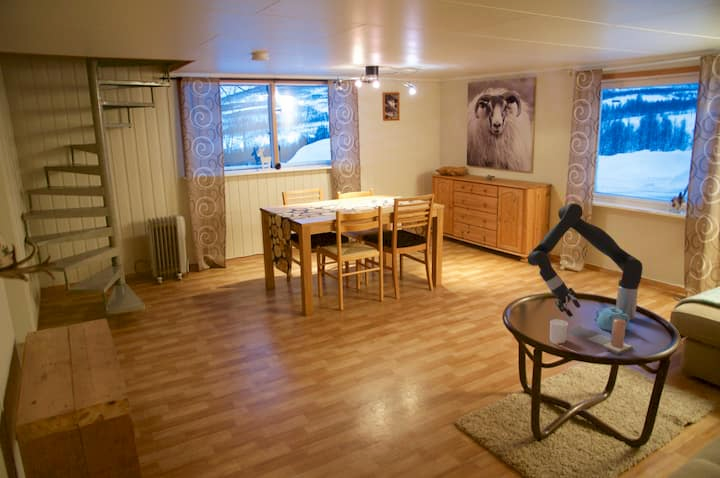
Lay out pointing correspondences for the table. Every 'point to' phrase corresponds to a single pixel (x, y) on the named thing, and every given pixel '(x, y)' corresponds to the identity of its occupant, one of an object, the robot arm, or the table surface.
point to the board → (598, 340)
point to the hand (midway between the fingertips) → (575, 311)
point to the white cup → (558, 331)
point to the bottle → (618, 332)
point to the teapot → (610, 317)
